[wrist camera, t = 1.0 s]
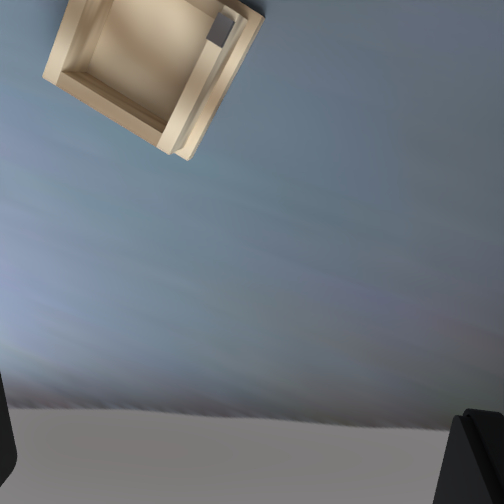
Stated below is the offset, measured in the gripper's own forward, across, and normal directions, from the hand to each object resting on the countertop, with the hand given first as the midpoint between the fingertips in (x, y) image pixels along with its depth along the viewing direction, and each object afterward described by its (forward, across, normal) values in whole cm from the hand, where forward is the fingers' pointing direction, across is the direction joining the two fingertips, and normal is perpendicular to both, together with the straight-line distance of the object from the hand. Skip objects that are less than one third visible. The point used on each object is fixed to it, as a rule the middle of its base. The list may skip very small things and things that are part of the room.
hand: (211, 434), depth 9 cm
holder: (+27, +10, -8) cm, 30 cm away
